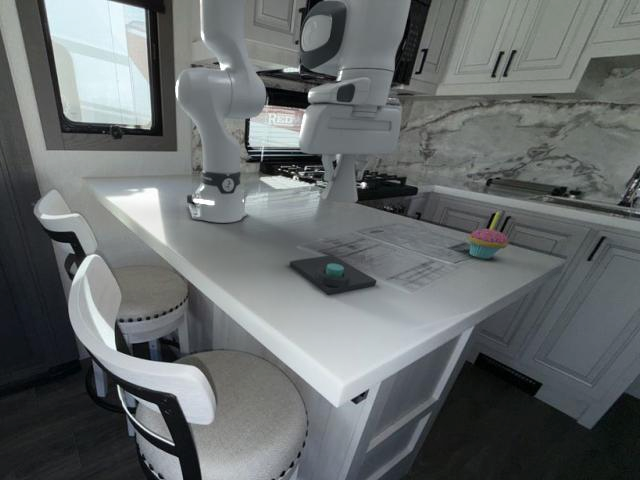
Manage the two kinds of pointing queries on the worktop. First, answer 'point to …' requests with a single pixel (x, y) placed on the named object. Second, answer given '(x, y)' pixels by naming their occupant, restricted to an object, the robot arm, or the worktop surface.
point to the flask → (343, 182)
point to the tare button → (334, 270)
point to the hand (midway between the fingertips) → (342, 180)
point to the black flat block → (330, 285)
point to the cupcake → (487, 241)
